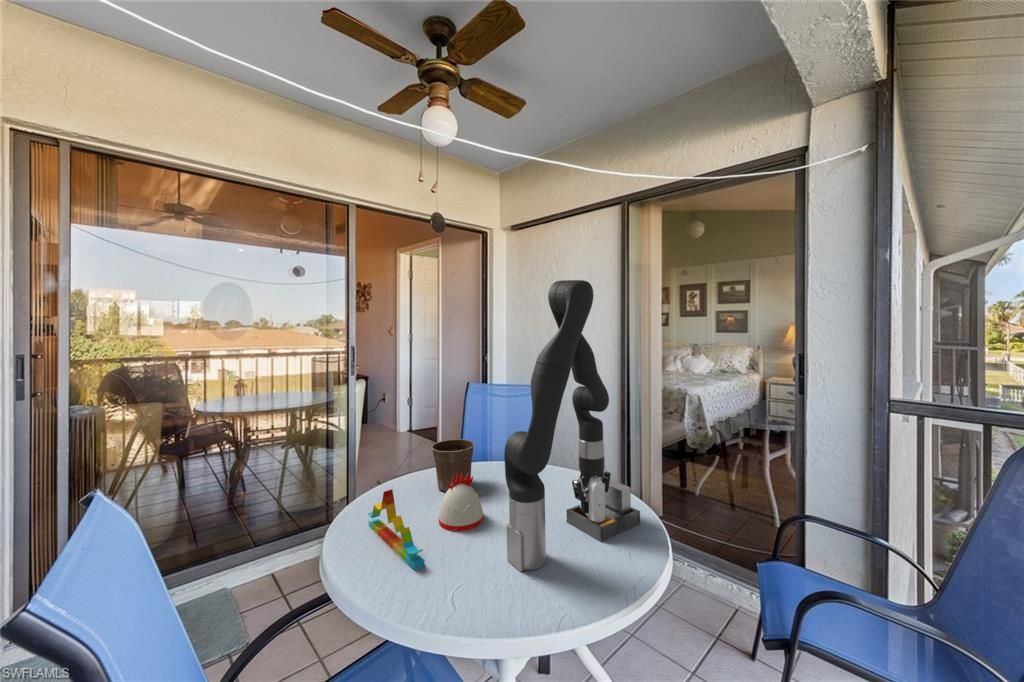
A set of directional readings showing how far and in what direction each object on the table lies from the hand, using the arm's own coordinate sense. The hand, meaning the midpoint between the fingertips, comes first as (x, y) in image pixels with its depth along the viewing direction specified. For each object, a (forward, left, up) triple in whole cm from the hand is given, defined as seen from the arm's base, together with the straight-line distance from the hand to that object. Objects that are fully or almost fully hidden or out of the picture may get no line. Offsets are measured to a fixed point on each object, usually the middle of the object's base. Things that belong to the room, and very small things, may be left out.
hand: (592, 509), depth 122 cm
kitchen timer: (-29, +28, -6) cm, 41 cm away
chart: (-51, +27, -6) cm, 58 cm away
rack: (+5, 0, -6) cm, 7 cm away
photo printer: (0, 0, -2) cm, 2 cm away
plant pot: (-19, +53, -6) cm, 57 cm away
